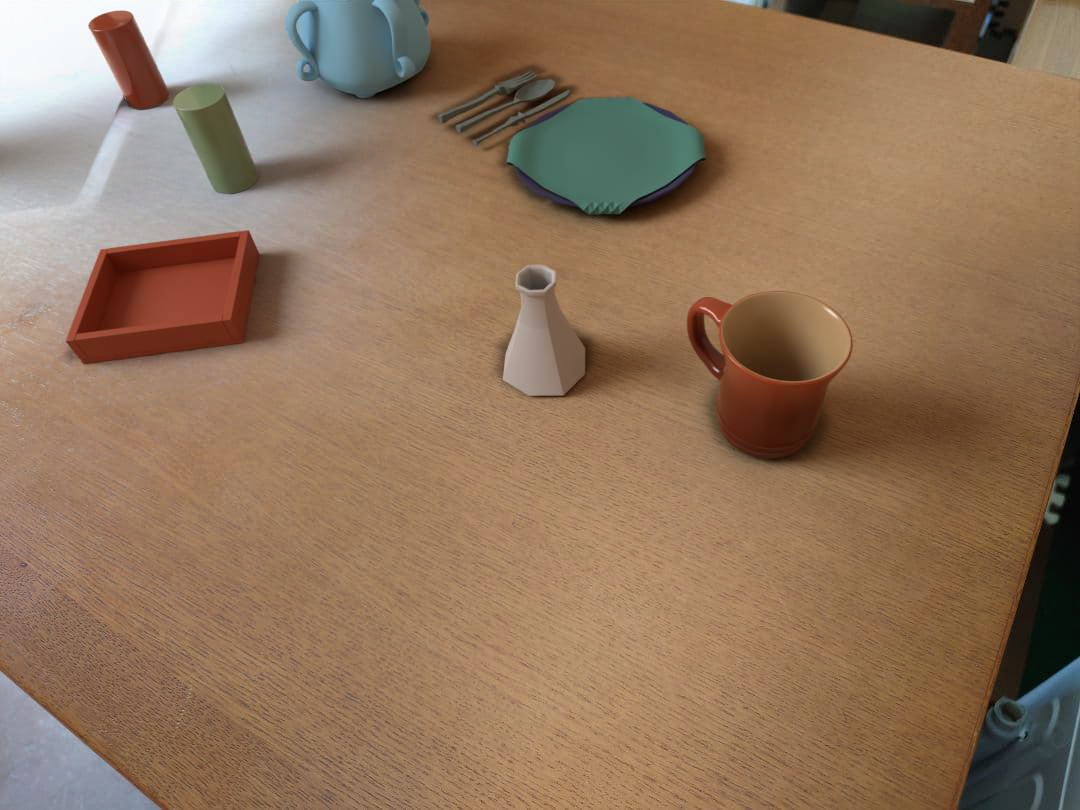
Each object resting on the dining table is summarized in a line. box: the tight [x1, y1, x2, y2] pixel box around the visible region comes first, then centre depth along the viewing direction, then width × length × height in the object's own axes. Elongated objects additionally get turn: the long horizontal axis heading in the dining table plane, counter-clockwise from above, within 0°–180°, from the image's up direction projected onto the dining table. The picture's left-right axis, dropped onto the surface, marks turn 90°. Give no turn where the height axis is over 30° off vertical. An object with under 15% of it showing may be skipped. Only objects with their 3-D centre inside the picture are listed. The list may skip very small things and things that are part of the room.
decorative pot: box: [284, 0, 432, 99], centre depth 95 cm, size 16×16×14 cm
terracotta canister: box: [87, 10, 170, 110], centre depth 96 cm, size 5×5×10 cm
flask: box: [502, 264, 586, 397], centre depth 62 cm, size 7×7×10 cm
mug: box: [686, 290, 854, 460], centre depth 57 cm, size 12×9×10 cm
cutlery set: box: [437, 70, 707, 216], centre depth 85 cm, size 20×30×2 cm, turn 41°
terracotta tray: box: [65, 229, 260, 365], centre depth 73 cm, size 15×13×3 cm
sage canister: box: [172, 82, 259, 195], centre depth 83 cm, size 5×5×10 cm
